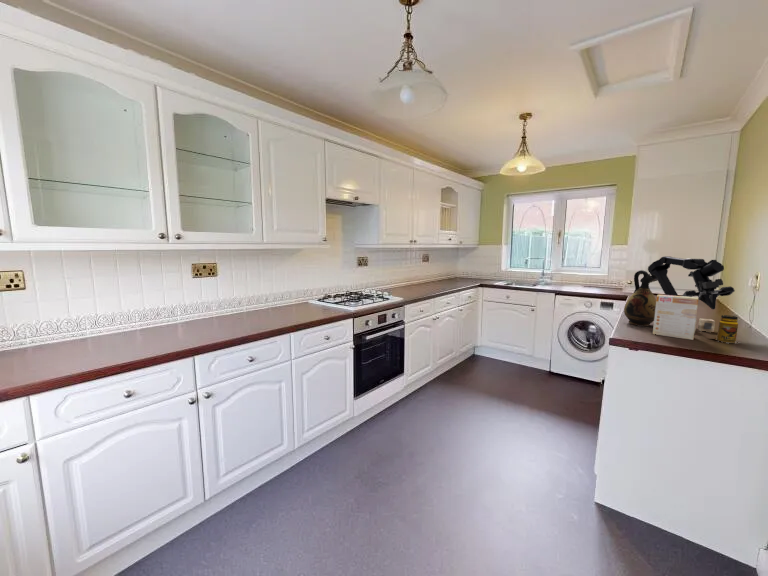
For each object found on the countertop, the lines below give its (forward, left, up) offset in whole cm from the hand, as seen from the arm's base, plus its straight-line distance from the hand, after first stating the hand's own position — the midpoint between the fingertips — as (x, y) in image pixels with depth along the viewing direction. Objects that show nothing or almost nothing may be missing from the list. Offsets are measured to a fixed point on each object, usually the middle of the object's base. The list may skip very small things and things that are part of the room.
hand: (713, 309), depth 165 cm
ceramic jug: (-29, 0, -13) cm, 32 cm away
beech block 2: (-2, +8, -13) cm, 15 cm away
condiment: (+5, -12, -13) cm, 19 cm away
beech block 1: (-8, 0, -13) cm, 15 cm away
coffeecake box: (-12, -19, -13) cm, 26 cm away
